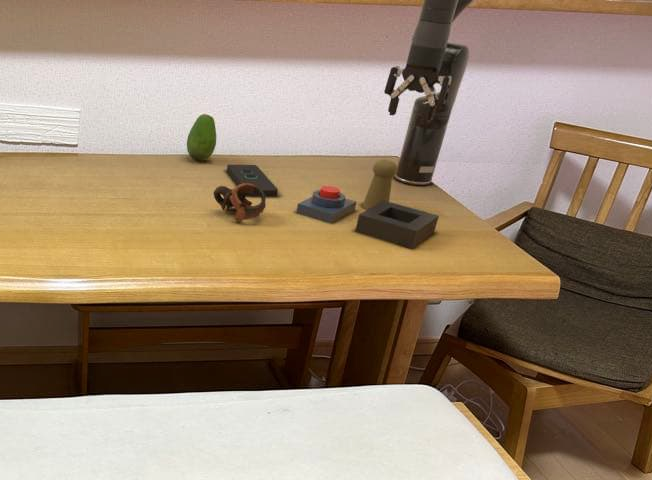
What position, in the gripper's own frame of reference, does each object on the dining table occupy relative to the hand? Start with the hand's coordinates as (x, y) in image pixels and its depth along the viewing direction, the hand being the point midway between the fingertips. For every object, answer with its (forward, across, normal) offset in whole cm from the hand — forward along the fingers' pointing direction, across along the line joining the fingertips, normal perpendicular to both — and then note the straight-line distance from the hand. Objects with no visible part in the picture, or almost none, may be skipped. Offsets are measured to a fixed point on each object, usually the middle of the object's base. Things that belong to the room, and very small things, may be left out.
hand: (409, 118), depth 178 cm
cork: (+19, -2, +12) cm, 22 cm away
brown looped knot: (+19, +18, +42) cm, 49 cm away
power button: (+15, +5, +24) cm, 29 cm away
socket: (+19, -12, +24) cm, 32 cm away
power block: (+19, +5, +24) cm, 31 cm away
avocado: (+19, +48, +14) cm, 54 cm away
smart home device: (+19, +28, +20) cm, 39 cm away
